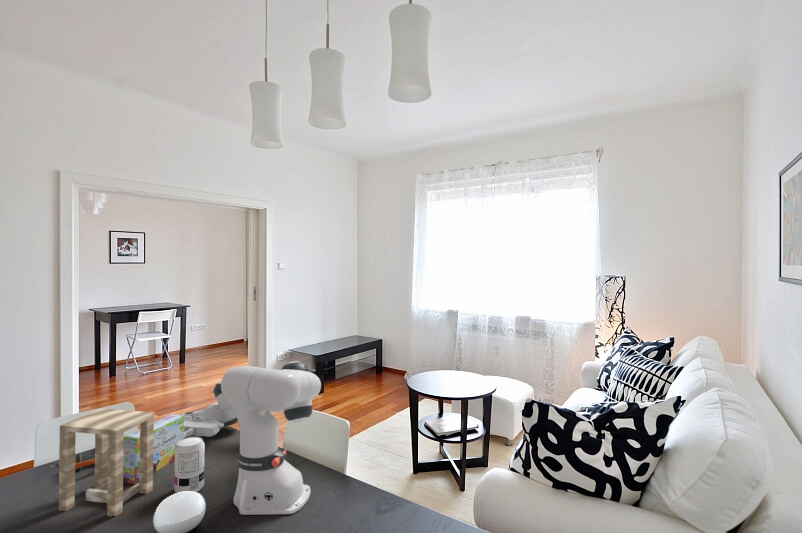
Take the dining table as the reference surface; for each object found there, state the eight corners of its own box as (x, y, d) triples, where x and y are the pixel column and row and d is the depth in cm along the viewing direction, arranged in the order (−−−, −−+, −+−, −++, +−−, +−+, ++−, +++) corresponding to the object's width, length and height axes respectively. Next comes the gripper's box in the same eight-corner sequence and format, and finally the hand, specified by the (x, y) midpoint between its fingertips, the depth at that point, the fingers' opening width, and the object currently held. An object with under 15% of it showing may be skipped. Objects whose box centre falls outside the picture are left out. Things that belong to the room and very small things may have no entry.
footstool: (154, 488, 128) (155, 411, 128) (115, 516, 113) (116, 430, 113) (103, 483, 130) (104, 407, 130) (58, 510, 116) (59, 425, 116)
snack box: (136, 485, 129) (136, 438, 129) (121, 483, 131) (121, 436, 131) (184, 455, 150) (184, 414, 150) (171, 453, 151) (171, 412, 151)
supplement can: (168, 493, 125) (168, 444, 125) (190, 480, 133) (191, 434, 133) (187, 499, 122) (188, 449, 122) (209, 485, 130) (210, 438, 130)
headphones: (104, 441, 155) (125, 443, 143) (105, 455, 154) (126, 458, 143) (46, 458, 141) (65, 461, 130) (47, 474, 141) (66, 479, 129)
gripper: (226, 431, 165) (205, 446, 152) (180, 427, 168) (155, 442, 155) (226, 415, 165) (205, 429, 152) (180, 412, 168) (155, 425, 155)
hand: (179, 435), depth 153 cm, fingers closed
